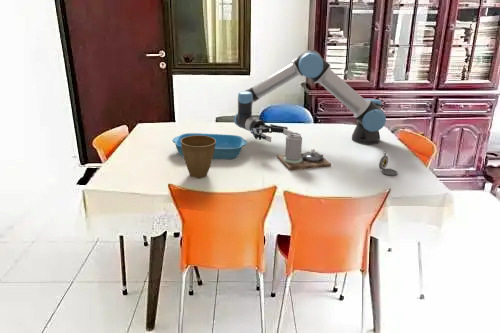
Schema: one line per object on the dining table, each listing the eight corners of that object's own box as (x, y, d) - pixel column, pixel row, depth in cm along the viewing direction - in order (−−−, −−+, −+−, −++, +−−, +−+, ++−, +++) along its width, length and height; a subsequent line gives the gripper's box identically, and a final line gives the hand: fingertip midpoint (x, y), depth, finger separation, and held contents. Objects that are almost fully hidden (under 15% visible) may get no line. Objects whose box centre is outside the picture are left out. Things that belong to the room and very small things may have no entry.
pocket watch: (397, 177, 193) (401, 156, 190) (378, 175, 195) (381, 154, 191) (395, 170, 201) (399, 149, 197) (377, 168, 202) (380, 148, 198)
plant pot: (187, 183, 181) (186, 147, 175) (178, 170, 194) (176, 136, 188) (220, 178, 187) (220, 143, 181) (209, 166, 199) (209, 133, 193)
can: (283, 155, 208) (285, 131, 203) (298, 155, 209) (300, 131, 204) (286, 161, 201) (287, 136, 196) (302, 161, 202) (304, 136, 197)
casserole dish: (247, 147, 226) (247, 134, 223) (246, 162, 206) (246, 148, 203) (177, 144, 227) (176, 131, 224) (168, 160, 206) (168, 146, 203)
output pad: (298, 156, 210) (298, 154, 210) (305, 163, 202) (305, 161, 202) (280, 157, 208) (280, 155, 207) (287, 164, 200) (287, 162, 199)
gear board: (316, 154, 217) (317, 152, 216) (330, 166, 203) (331, 163, 202) (277, 158, 211) (277, 155, 211) (288, 170, 197) (288, 167, 197)
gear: (318, 154, 214) (318, 145, 212) (327, 161, 204) (328, 152, 203) (298, 155, 211) (298, 146, 209) (306, 163, 202) (307, 154, 200)
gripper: (273, 129, 232) (300, 140, 217) (235, 136, 219) (260, 149, 203) (274, 115, 229) (301, 125, 214) (235, 122, 216) (261, 133, 200)
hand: (281, 137), depth 208 cm, fingers open, 13 cm apart
